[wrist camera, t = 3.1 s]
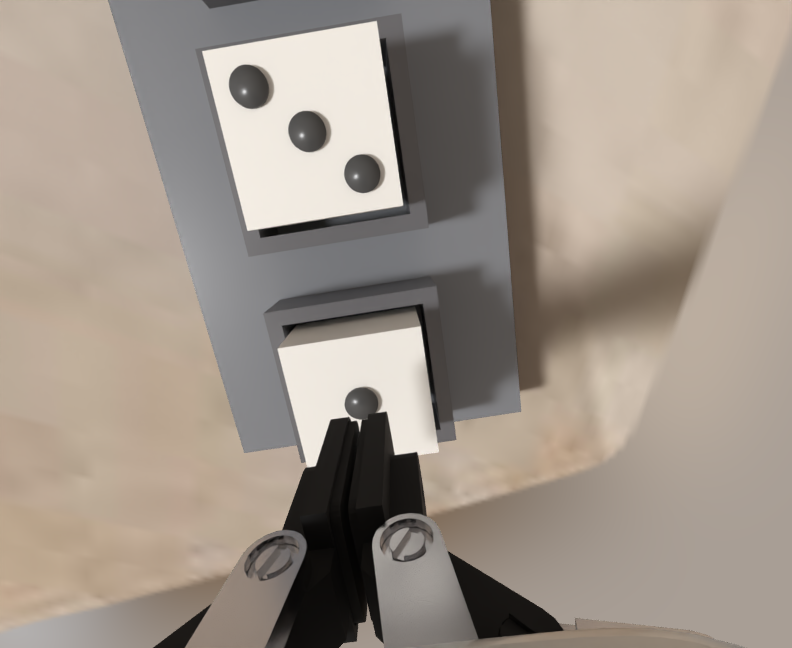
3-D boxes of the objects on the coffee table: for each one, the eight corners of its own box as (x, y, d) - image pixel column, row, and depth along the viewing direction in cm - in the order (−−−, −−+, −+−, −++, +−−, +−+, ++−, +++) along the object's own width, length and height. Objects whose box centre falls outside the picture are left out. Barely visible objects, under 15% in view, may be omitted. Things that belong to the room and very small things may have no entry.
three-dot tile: (240, 84, 14) (199, 49, 11) (379, 61, 14) (376, 18, 11) (274, 227, 15) (245, 230, 12) (400, 207, 15) (403, 205, 12)
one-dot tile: (296, 324, 16) (276, 350, 13) (414, 306, 16) (421, 327, 13) (321, 429, 18) (307, 474, 15) (430, 412, 18) (439, 454, 15)
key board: (82, -180, 15) (-48, -347, 10) (455, -250, 14) (484, -453, 10) (257, 431, 22) (224, 486, 17) (509, 393, 21) (540, 439, 17)
